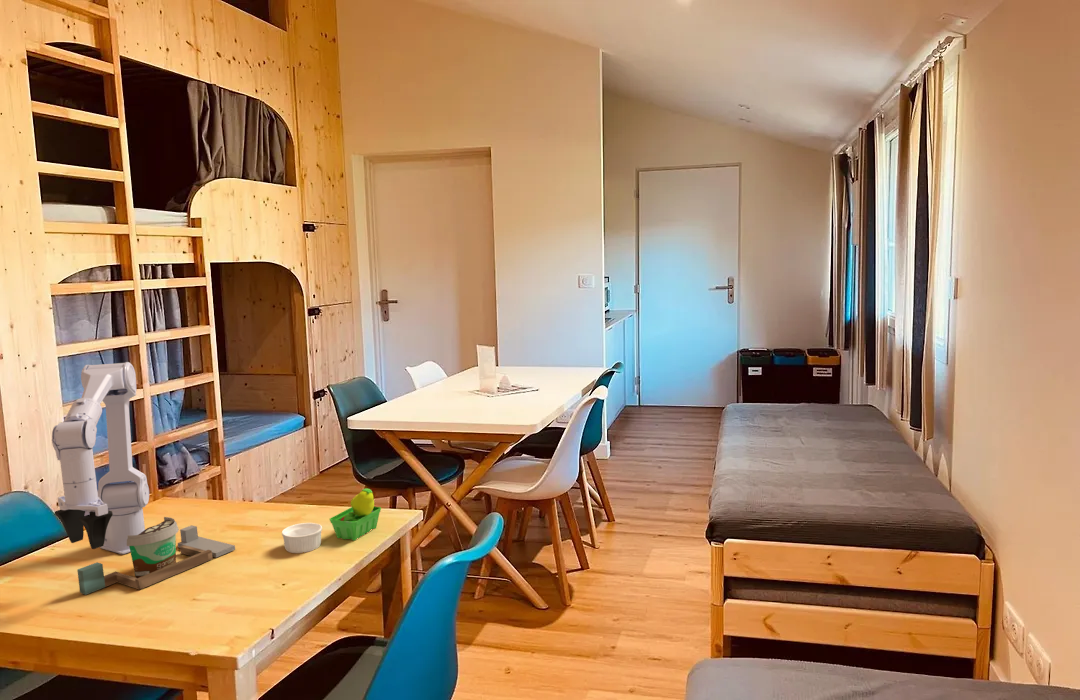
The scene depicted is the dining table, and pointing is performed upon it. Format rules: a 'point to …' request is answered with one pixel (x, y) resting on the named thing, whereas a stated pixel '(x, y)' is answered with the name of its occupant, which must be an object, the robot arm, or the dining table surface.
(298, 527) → the ramekin
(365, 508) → the fruit basket
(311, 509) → the dining table surface
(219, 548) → the grey l-shaped block
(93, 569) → the walnut sled
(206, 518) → the dining table surface
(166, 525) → the food container
